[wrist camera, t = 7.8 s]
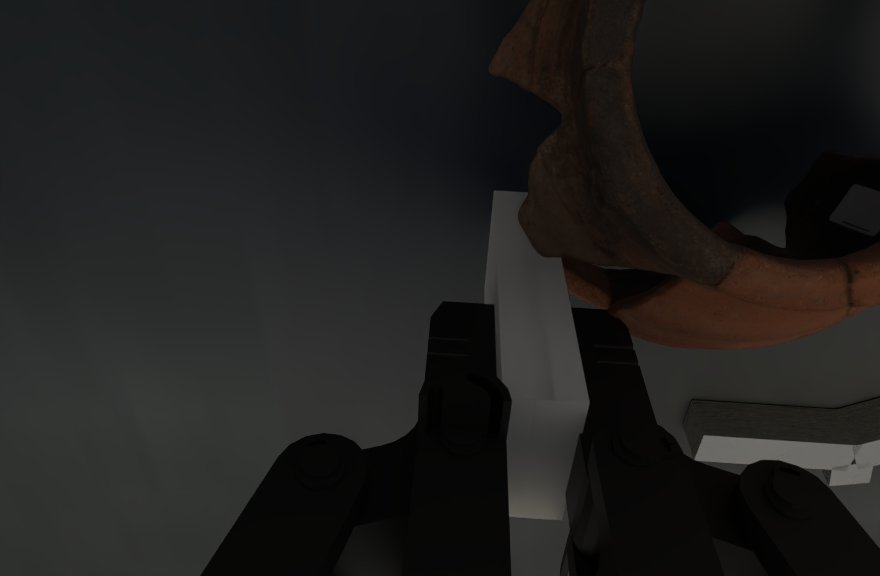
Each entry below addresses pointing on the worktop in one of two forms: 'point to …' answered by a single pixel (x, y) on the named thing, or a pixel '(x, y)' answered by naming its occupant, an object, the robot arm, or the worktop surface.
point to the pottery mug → (674, 204)
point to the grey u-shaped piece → (789, 436)
